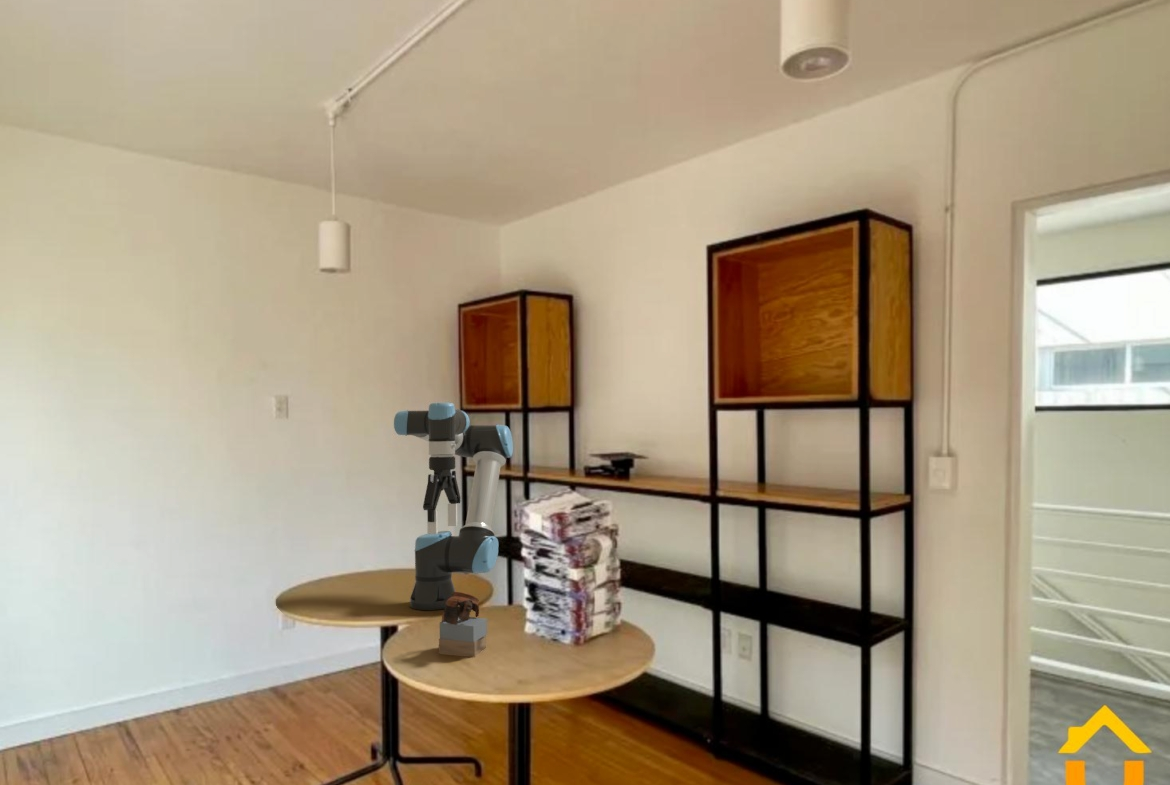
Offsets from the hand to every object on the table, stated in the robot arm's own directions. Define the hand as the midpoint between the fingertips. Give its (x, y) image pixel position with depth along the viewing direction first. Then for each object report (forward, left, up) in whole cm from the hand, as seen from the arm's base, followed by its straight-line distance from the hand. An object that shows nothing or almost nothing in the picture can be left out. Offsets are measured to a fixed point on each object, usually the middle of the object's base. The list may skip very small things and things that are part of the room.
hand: (442, 529), depth 199 cm
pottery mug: (+16, +13, -21) cm, 29 cm away
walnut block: (+16, +13, -29) cm, 35 cm away
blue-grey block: (+16, +13, -25) cm, 32 cm away
